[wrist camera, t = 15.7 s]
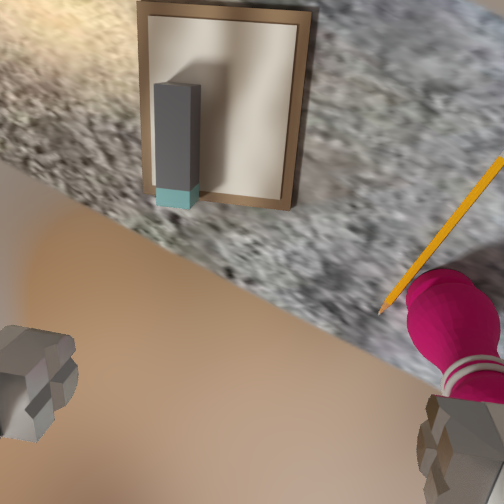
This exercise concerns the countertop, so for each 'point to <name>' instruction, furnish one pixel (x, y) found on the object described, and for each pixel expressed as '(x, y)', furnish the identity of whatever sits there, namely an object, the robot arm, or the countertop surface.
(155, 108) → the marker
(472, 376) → the pepper mill
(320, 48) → the countertop surface
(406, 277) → the pencil
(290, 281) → the countertop surface
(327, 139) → the countertop surface
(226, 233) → the countertop surface
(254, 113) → the board
